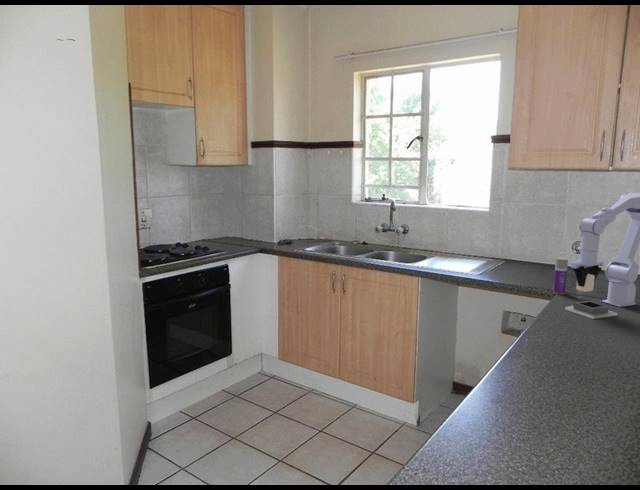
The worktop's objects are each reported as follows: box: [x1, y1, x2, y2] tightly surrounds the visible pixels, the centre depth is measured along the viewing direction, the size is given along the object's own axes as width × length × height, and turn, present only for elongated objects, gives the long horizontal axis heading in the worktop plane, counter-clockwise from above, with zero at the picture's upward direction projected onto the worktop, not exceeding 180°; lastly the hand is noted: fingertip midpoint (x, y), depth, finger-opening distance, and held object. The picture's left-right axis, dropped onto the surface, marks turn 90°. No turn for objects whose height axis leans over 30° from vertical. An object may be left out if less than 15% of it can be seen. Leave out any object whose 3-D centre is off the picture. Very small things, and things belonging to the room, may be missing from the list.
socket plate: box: [564, 300, 618, 320], centre depth 175 cm, size 12×12×3 cm
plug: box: [575, 274, 595, 293], centre depth 178 cm, size 4×4×7 cm
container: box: [552, 257, 569, 295], centre depth 201 cm, size 5×5×15 cm
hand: (585, 285), depth 178 cm, fingers closed on plug, 4 cm apart
